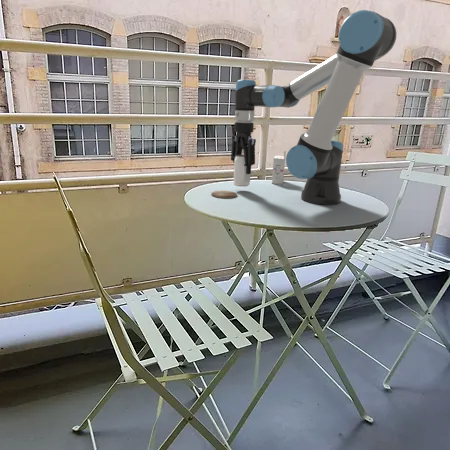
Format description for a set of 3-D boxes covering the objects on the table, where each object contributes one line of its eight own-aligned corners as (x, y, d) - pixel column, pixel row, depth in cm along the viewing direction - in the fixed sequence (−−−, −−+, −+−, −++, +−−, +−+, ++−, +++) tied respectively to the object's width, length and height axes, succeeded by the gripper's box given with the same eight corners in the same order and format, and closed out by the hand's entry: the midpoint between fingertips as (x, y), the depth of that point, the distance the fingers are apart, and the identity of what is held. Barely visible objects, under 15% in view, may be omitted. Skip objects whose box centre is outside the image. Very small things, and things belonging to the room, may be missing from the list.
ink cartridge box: (272, 180, 186) (275, 148, 181) (283, 181, 185) (286, 149, 180) (271, 183, 178) (274, 151, 173) (282, 184, 177) (285, 151, 172)
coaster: (241, 197, 152) (242, 195, 152) (219, 199, 147) (219, 197, 147) (228, 191, 160) (228, 189, 160) (206, 193, 155) (206, 191, 155)
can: (240, 182, 165) (241, 154, 161) (252, 185, 161) (254, 155, 157) (230, 184, 160) (231, 155, 156) (243, 187, 156) (244, 157, 153)
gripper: (223, 120, 159) (221, 176, 166) (250, 123, 143) (247, 185, 150) (238, 120, 163) (236, 175, 170) (266, 123, 147) (263, 183, 154)
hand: (241, 180), depth 160 cm, fingers closed on can, 6 cm apart
